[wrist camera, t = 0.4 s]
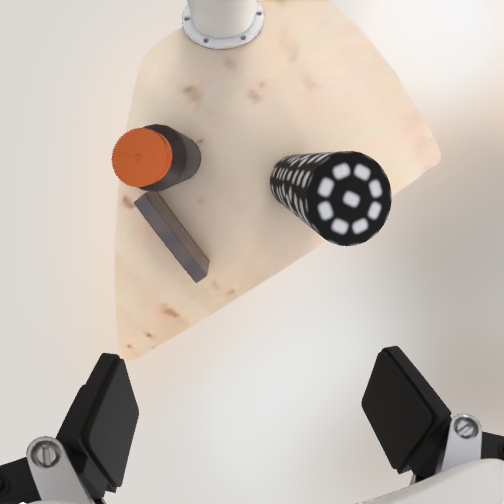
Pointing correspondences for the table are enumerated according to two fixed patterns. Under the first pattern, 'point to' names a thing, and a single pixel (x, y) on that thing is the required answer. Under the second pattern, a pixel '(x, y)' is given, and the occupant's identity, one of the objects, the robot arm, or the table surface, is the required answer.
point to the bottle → (155, 158)
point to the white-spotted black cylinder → (334, 194)
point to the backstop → (173, 234)
